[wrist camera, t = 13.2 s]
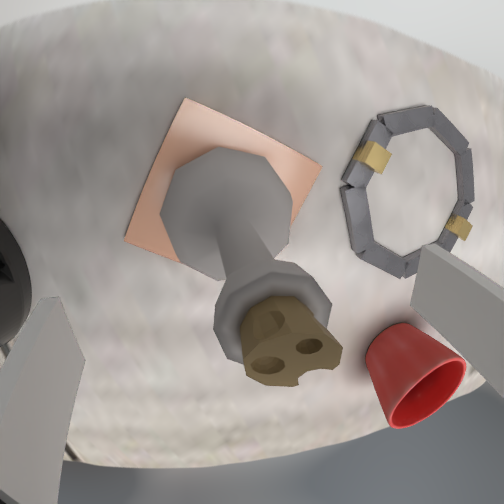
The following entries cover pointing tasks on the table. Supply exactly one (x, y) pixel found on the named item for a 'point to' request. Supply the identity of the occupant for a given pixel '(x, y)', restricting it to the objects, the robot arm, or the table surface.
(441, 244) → the collar
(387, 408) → the flower pot
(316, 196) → the table surface
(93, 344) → the table surface
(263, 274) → the potion bottle
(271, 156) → the coaster
